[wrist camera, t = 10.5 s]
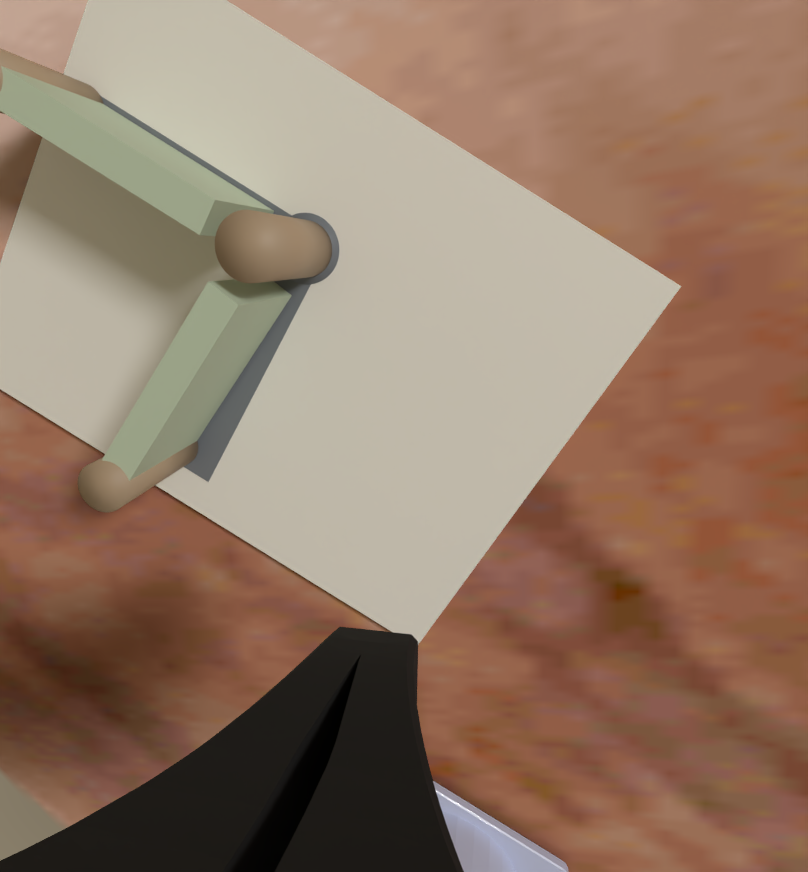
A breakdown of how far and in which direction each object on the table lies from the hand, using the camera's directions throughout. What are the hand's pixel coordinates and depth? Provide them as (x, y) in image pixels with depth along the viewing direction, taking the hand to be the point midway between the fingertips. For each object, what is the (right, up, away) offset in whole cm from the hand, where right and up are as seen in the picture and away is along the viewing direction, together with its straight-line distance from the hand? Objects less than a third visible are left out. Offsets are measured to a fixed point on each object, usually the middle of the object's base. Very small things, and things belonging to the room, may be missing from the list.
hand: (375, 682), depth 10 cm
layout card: (-3, +7, +9) cm, 12 cm away
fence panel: (-5, +6, +9) cm, 12 cm away
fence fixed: (-6, +12, +8) cm, 15 cm away
